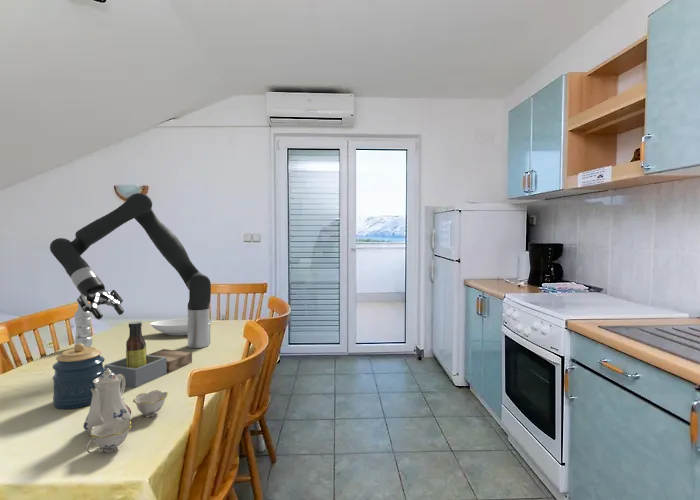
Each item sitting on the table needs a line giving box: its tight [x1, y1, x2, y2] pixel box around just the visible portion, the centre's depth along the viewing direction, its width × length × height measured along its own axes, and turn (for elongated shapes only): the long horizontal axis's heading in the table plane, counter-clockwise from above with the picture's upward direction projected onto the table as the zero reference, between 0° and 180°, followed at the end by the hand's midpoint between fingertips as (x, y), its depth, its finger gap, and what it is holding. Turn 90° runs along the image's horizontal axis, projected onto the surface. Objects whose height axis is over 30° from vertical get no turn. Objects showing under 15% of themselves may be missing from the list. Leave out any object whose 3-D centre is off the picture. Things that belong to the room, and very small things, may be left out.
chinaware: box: [82, 368, 169, 454], centre depth 100 cm, size 28×17×17 cm, turn 4°
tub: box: [103, 354, 168, 388], centre depth 135 cm, size 14×14×6 cm
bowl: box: [149, 318, 214, 336], centre depth 196 cm, size 30×15×6 cm, turn 105°
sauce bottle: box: [125, 321, 147, 369], centre depth 135 cm, size 6×6×20 cm
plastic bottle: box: [73, 302, 93, 347], centre depth 169 cm, size 6×7×20 cm
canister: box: [52, 343, 105, 410], centre depth 116 cm, size 13×13×18 cm
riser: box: [147, 348, 193, 373], centre depth 149 cm, size 12×14×4 cm
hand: (111, 315), depth 138 cm, fingers open, 8 cm apart
